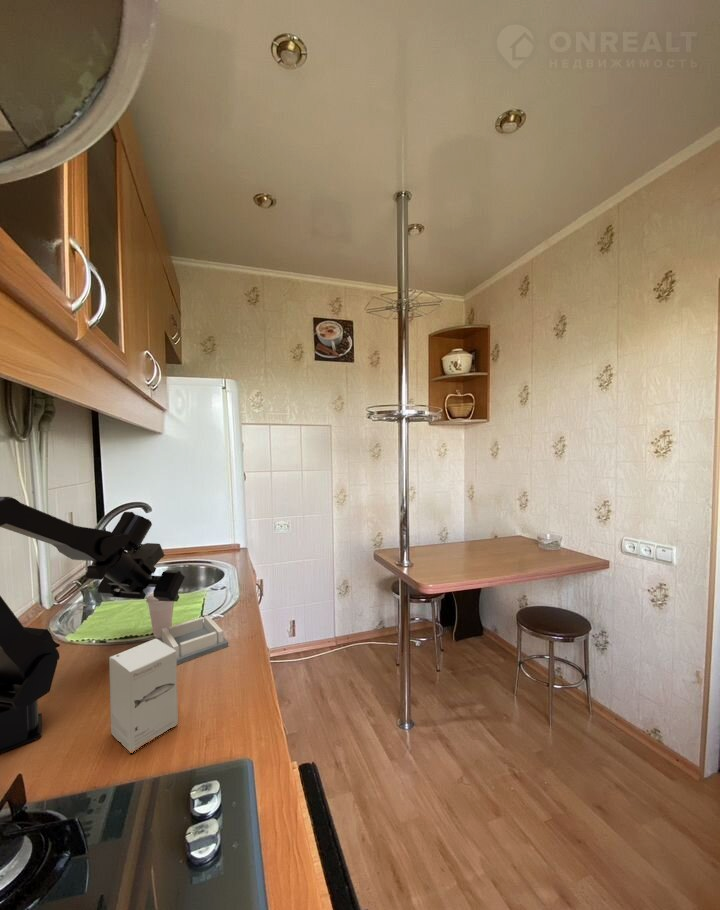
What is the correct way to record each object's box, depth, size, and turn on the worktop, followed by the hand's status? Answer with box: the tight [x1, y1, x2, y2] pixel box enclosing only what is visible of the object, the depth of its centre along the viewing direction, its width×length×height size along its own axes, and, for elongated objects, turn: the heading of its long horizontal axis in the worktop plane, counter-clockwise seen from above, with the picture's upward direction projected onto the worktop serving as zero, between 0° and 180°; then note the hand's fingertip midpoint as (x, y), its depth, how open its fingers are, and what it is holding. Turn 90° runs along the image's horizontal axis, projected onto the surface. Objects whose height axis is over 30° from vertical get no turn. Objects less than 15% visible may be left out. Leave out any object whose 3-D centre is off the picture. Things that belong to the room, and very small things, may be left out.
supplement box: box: [108, 637, 179, 752], centre depth 60 cm, size 7×7×13 cm
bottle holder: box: [157, 614, 229, 666], centre depth 86 cm, size 12×12×4 cm
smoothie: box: [145, 592, 175, 639], centre depth 91 cm, size 6×6×14 cm
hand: (160, 598), depth 91 cm, fingers open, 9 cm apart
